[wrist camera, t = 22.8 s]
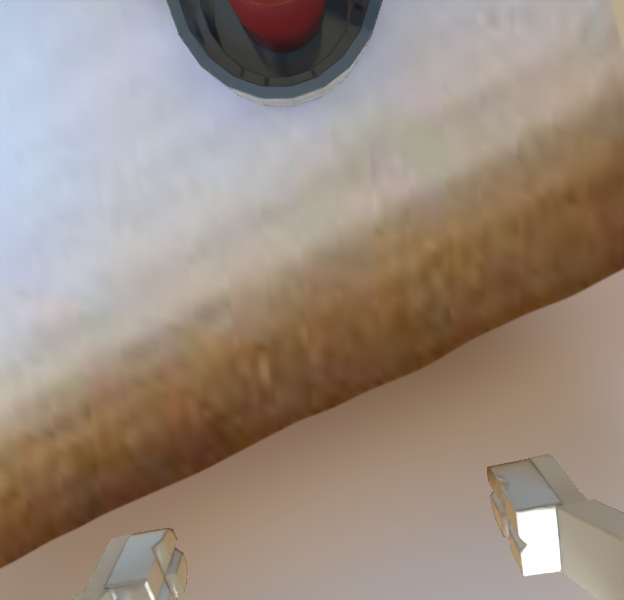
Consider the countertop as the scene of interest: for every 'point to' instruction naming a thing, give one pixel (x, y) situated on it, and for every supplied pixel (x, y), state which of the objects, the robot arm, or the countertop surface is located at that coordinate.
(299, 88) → the bowl
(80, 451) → the countertop surface
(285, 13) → the can
